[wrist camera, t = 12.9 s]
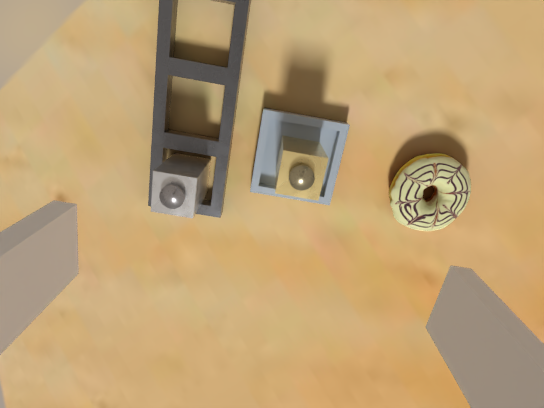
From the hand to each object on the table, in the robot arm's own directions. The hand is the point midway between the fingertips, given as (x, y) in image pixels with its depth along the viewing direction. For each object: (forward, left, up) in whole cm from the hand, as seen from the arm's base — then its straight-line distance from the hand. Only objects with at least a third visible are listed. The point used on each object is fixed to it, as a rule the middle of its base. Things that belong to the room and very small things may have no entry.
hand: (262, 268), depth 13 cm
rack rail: (0, -10, -37) cm, 38 cm away
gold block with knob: (+4, +4, -36) cm, 37 cm away
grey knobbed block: (+9, -10, -37) cm, 39 cm away
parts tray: (+4, +4, -37) cm, 37 cm away
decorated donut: (+5, +22, -37) cm, 44 cm away
